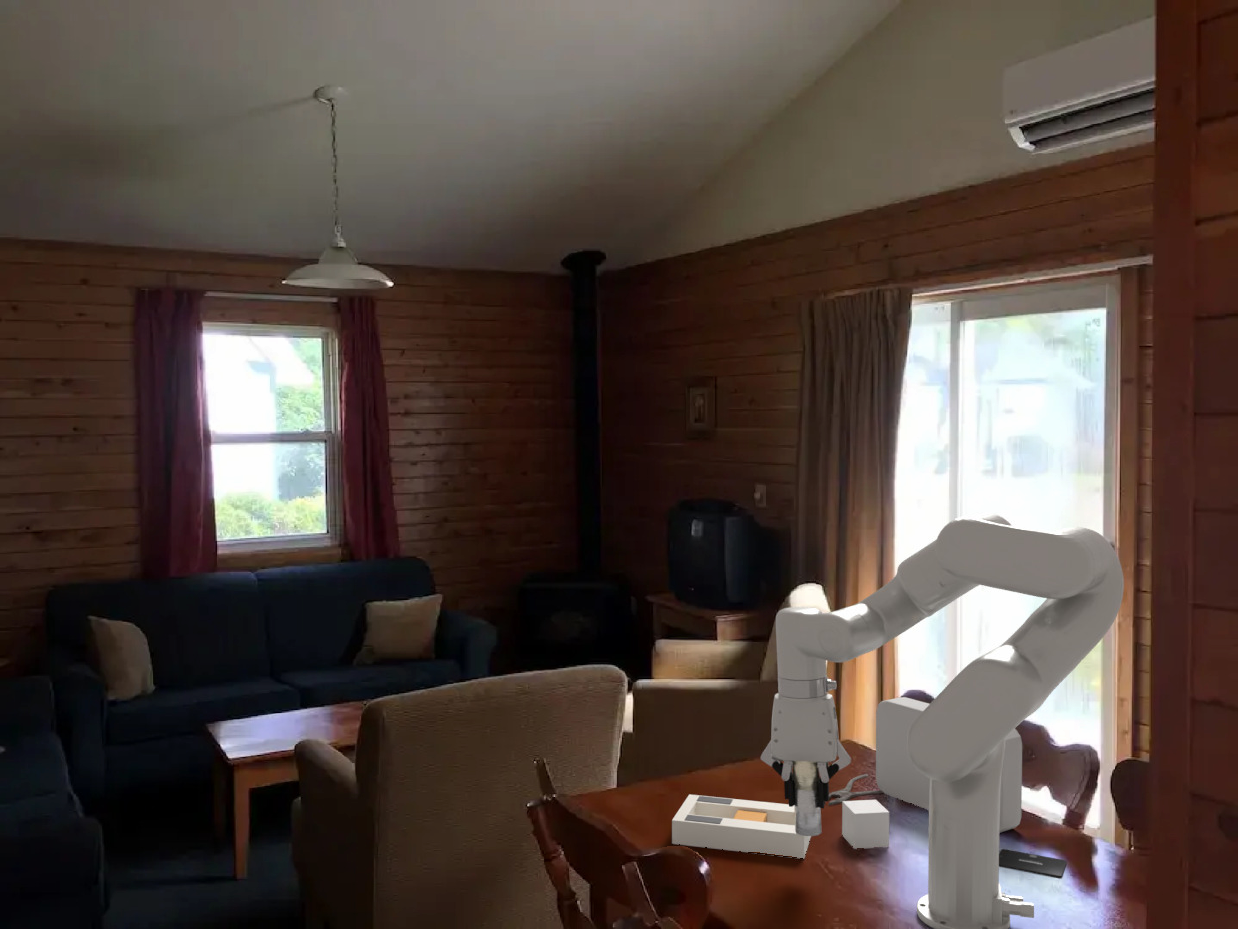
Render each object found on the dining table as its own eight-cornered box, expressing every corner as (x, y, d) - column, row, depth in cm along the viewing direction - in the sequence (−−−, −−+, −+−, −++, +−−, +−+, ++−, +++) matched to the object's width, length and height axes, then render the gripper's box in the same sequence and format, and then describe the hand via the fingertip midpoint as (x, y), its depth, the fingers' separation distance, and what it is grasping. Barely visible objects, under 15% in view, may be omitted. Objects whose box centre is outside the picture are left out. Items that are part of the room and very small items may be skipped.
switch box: (813, 829, 182) (813, 806, 182) (804, 859, 170) (804, 834, 170) (689, 816, 189) (689, 794, 188) (672, 843, 176) (672, 819, 176)
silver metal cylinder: (822, 828, 165) (819, 751, 165) (820, 837, 161) (816, 759, 161) (797, 826, 166) (794, 750, 166) (793, 835, 162) (790, 757, 162)
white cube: (854, 849, 174) (854, 813, 174) (842, 836, 180) (842, 801, 180) (889, 847, 175) (889, 812, 175) (875, 834, 181) (875, 799, 181)
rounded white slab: (1030, 829, 183) (1031, 726, 182) (1002, 839, 178) (1003, 733, 178) (902, 783, 207) (903, 692, 206) (875, 790, 202) (875, 698, 202)
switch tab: (766, 826, 181) (766, 813, 181) (761, 838, 176) (761, 824, 176) (737, 823, 182) (737, 810, 182) (732, 835, 177) (732, 821, 177)
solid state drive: (1001, 852, 174) (1001, 848, 174) (1067, 864, 169) (1067, 860, 169) (993, 867, 168) (993, 863, 168) (1061, 880, 163) (1061, 876, 163)
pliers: (907, 782, 206) (863, 811, 190) (907, 786, 206) (863, 815, 190) (861, 772, 212) (814, 799, 196) (861, 776, 212) (814, 803, 196)
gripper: (859, 683, 165) (863, 800, 165) (753, 681, 170) (757, 794, 170) (855, 694, 158) (860, 816, 158) (745, 691, 162) (749, 809, 162)
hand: (807, 803), depth 164 cm, fingers closed on silver metal cylinder, 4 cm apart
